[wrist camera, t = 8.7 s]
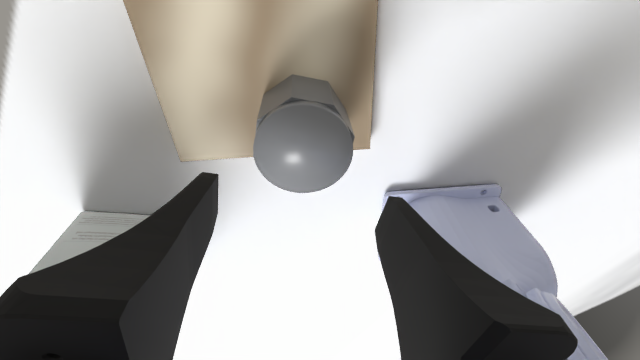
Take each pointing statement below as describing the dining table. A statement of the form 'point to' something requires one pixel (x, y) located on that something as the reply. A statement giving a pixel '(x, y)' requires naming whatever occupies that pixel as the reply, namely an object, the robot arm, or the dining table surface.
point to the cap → (302, 135)
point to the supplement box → (88, 235)
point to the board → (251, 63)
